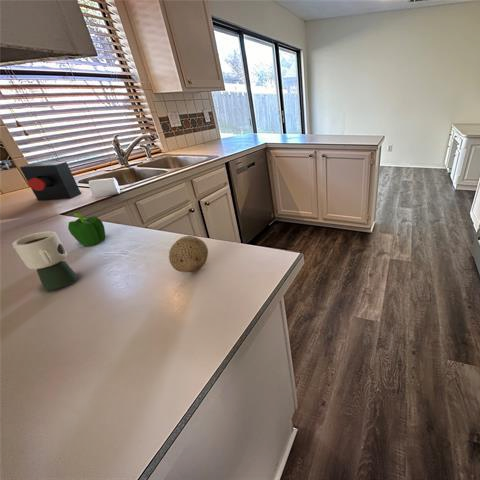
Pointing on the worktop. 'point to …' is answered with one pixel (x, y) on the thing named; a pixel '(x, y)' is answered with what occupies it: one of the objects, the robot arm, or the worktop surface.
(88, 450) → the worktop surface
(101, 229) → the bell pepper
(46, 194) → the control box
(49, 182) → the knob
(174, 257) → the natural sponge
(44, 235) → the character mug
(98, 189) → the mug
